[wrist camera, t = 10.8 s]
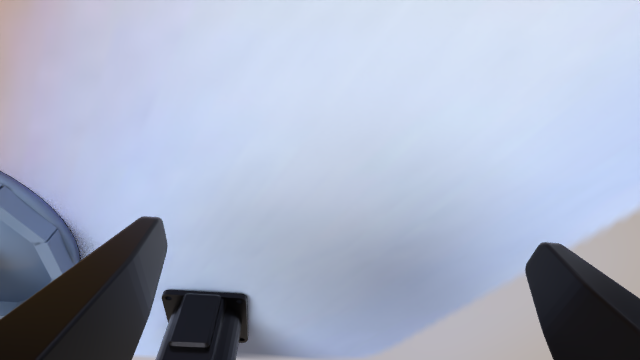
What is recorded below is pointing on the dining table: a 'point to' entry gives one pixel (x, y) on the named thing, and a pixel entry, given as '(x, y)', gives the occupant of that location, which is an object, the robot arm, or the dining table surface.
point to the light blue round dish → (30, 244)
